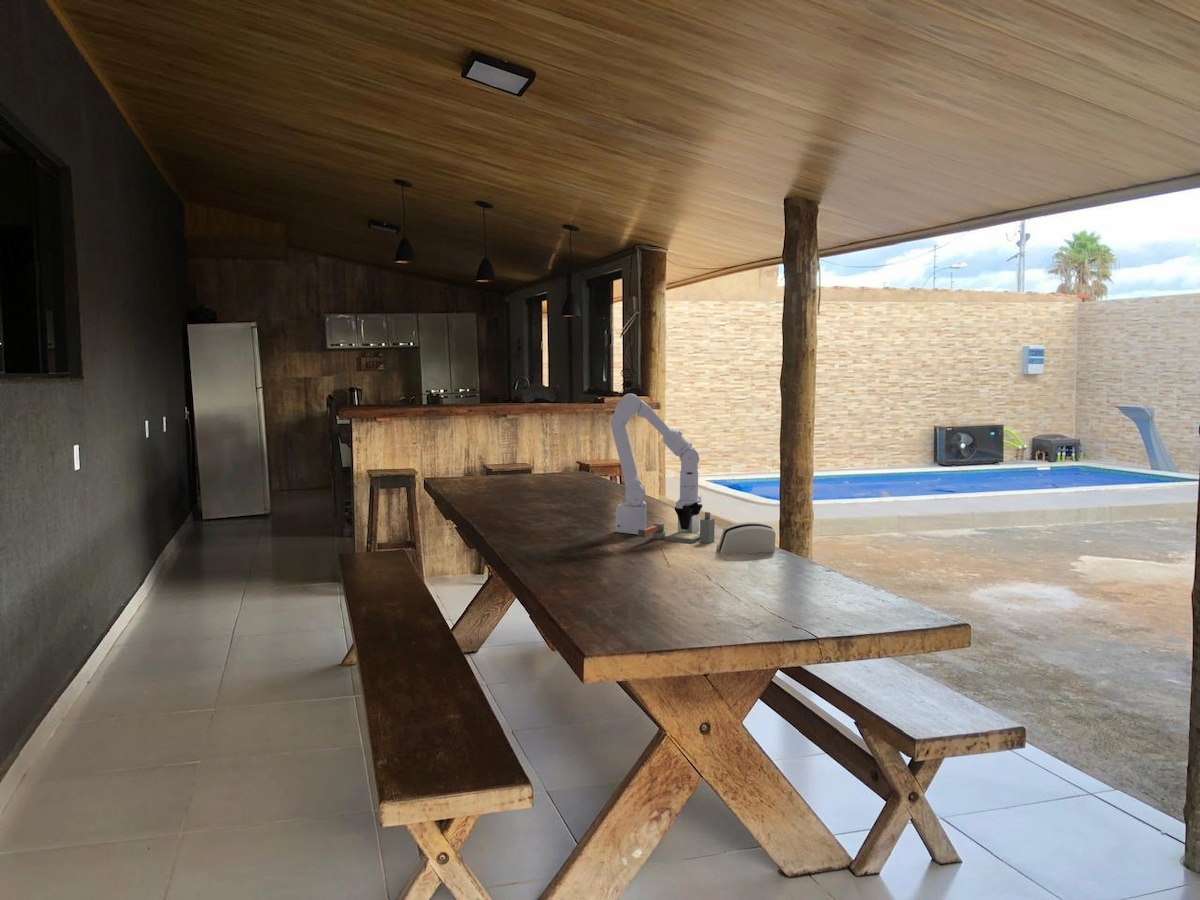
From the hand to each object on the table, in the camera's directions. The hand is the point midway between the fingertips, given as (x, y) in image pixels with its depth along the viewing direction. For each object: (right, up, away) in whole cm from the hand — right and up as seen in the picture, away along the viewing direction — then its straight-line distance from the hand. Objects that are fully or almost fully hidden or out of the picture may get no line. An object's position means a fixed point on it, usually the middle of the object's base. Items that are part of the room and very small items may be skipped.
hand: (688, 527), depth 298 cm
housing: (0, -2, 0) cm, 2 cm away
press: (-2, -3, -10) cm, 11 cm away
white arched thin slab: (+14, -5, -29) cm, 33 cm away
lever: (-13, -1, -14) cm, 19 cm away
